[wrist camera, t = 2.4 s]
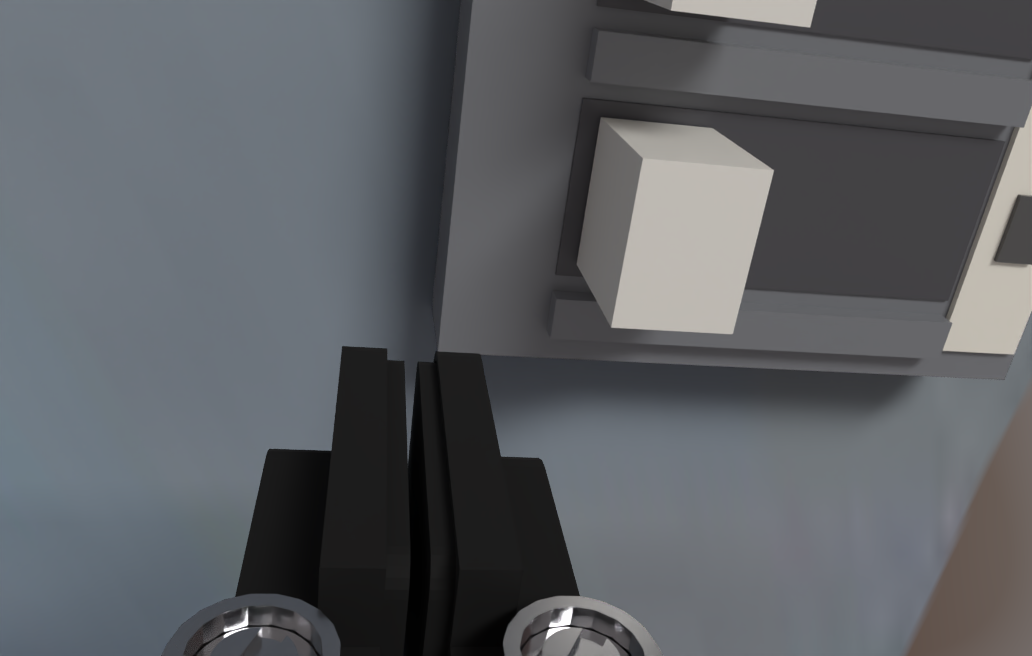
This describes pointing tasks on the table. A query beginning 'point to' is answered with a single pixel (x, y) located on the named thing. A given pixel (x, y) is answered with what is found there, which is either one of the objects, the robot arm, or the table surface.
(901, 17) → the switch bank
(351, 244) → the table surface
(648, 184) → the tab
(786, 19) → the tab middle
